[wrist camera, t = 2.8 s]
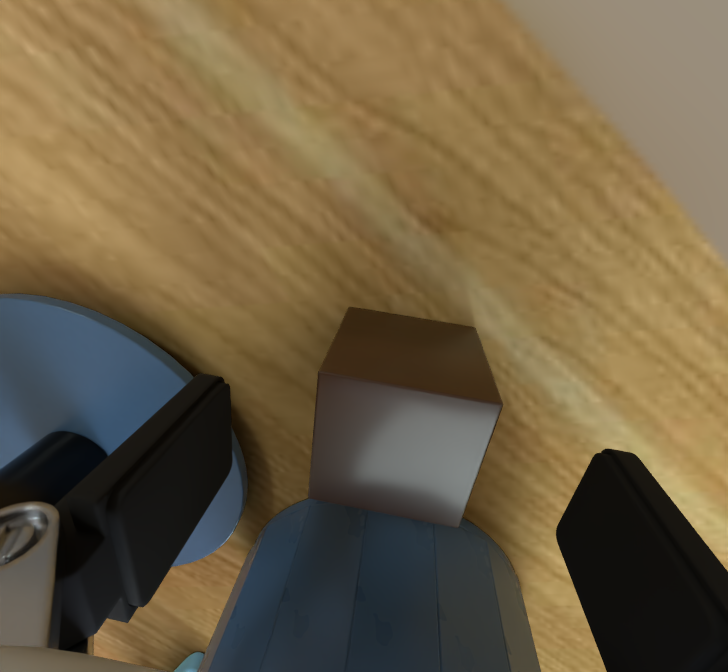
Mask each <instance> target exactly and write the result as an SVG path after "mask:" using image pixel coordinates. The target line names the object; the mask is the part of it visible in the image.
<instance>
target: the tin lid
mask: <svg viewBox="0 0 728 672" xmlns="http://www.w3.org/2000/svg"><path fill="white" fill-rule="evenodd" d="M193 378H194V377H193V376H192V375H191V374H190V372H188V371H187V370H186V369H185V368H184V367H183V366H182V365H180V364H179V363H178V362H177V361H176V360H175V359H174V358H173V357H171V356H170V355H169V354H168V353H166V352H165V351H164V350H162V349H161V348H160V347H158V346H157V345H155V344H154V343H153V342H151V341H150V340H149V339H147V338H146V337H144V336H142V335H141V334H139V333H137V332H136V331H134V330H132V329H131V328H129V327H127V326H125V325H124V324H122V323H120V322H118V321H116V320H114V319H112V318H109V317H107V316H105V315H103V314H101V313H99V312H97V311H94V310H91V309H88V308H85V307H83V306H80V305H77V304H74V303H71V302H67V301H63V300H59V299H55V298H50V297H46V296H38V295H29V294H20V293H18V294H0V509H2V508H5V507H8V506H10V505H14V504H19V503H24V502H44V503H47V504H50V505H53V506H54V505H55V504H57V503H58V502H59V501H60V500H61V499H62V498H63V497H64V496H65V495H66V494H67V493H69V492H70V491H71V490H72V489H73V488H74V487H75V486H76V485H77V484H78V483H80V482H81V481H82V480H83V479H84V478H85V477H86V476H87V475H88V474H89V473H90V472H92V471H93V470H94V469H95V468H96V467H97V466H98V465H99V464H100V463H101V462H102V461H104V460H105V459H106V458H107V457H108V456H109V455H110V454H111V453H112V452H113V451H114V450H116V449H117V448H118V447H119V446H120V445H121V444H122V443H123V442H124V441H125V440H126V439H128V438H129V437H130V436H131V435H132V434H133V433H134V432H135V431H136V430H137V429H138V428H140V427H141V426H142V425H143V424H144V423H145V422H146V421H147V420H148V419H150V418H151V417H152V416H153V415H154V414H155V413H156V412H157V411H158V410H159V409H160V408H162V407H163V406H164V405H165V404H166V403H167V402H168V401H169V400H170V399H171V398H172V397H174V396H175V395H176V394H177V393H178V392H179V391H180V390H181V389H182V388H183V387H184V386H186V385H187V384H188V383H189V382H190V381H191V380H192V379H193ZM231 428H232V427H231ZM232 456H233V462H232V467H231V470H230V473H229V475H228V477H227V478H226V480H225V481H224V483H223V485H222V486H221V488H220V489H219V491H218V493H217V494H216V496H215V497H214V499H213V501H212V502H211V504H210V505H209V507H208V509H207V510H206V512H205V513H204V515H203V517H202V518H201V520H200V521H199V523H198V525H197V526H196V528H195V529H194V531H193V533H192V534H191V536H190V537H189V539H188V541H187V542H186V544H185V545H184V547H183V549H182V550H181V552H180V553H179V555H178V557H177V558H176V560H175V561H174V563H173V565H172V566H178V565H183V564H187V563H191V562H194V561H196V560H199V559H202V558H204V557H206V556H207V555H209V554H211V553H213V552H214V551H216V550H217V549H218V548H219V547H220V546H221V545H223V544H224V543H225V542H226V541H227V540H228V538H229V537H230V536H231V534H232V533H233V532H234V530H235V528H236V526H237V524H238V522H239V520H240V518H241V516H242V514H243V512H244V508H245V504H246V500H247V489H248V479H247V470H246V464H245V461H244V457H243V453H242V450H241V447H240V445H239V442H238V440H237V438H236V436H235V433H234V431H233V429H232ZM172 566H171V567H172Z"/></svg>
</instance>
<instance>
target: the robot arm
mask: <svg viewBox="0 0 728 672" xmlns="http://www.w3.org/2000/svg"><path fill="white" fill-rule="evenodd" d="M232 462H233V456H232V428H231V399H230V386H229V384H226V383H225V382H224V379H223V378H222V377H219V376H214V375H208V374H203V373H200V374H198V375H196V376H195V377H194V378H193V379H192V380H191V381H190V382H189V383H188V384H187V385H186V386H184V387H183V388H182V389H181V390H180V391H179V392H178V393H177V394H176V395H175V396H174V397H172V398H171V399H170V400H169V401H168V402H167V403H166V404H165V405H164V406H163V407H162V408H160V409H159V410H158V411H157V412H156V413H155V414H154V415H153V416H152V417H151V418H150V419H148V420H147V421H146V422H145V423H144V424H143V425H142V426H141V427H140V428H138V429H137V430H136V431H135V432H134V433H133V434H132V435H131V436H130V437H129V438H128V439H126V440H125V441H124V442H123V443H122V444H121V445H120V446H119V447H118V448H117V449H116V450H114V451H113V452H112V453H111V454H110V455H109V456H108V457H107V458H106V459H105V460H104V461H102V462H101V463H100V464H99V465H98V466H97V467H96V468H95V469H94V470H93V471H92V472H90V473H89V474H88V475H87V476H86V477H85V478H84V479H83V480H82V481H81V482H80V483H78V484H77V485H76V486H75V487H74V488H73V489H72V490H71V491H70V492H69V493H67V494H66V495H65V496H64V497H63V498H62V499H61V500H60V501H59V502H58V503H57V504H55V505H54V506H53V505H50V504H47V503H44V502H24V503H19V504H14V505H10V506H8V507H5V508H2V509H0V672H168V671H163V670H158V669H154V668H149V667H144V666H140V665H135V664H130V663H126V662H121V661H116V660H112V659H107V658H102V657H98V656H93V655H94V634H96V633H97V631H98V630H99V629H100V627H101V626H102V624H103V623H104V621H105V620H106V619H107V618H108V619H113V620H117V621H121V622H125V623H128V622H129V620H130V619H131V617H132V616H133V614H134V613H135V611H136V609H137V608H138V606H139V607H144V606H145V605H146V604H147V603H148V602H149V601H150V600H151V598H152V597H153V595H154V593H155V592H156V590H157V589H158V587H159V585H160V584H161V582H162V581H163V579H164V577H165V576H166V574H167V573H168V571H169V569H170V568H171V566H172V565H173V563H174V561H175V560H176V558H177V557H178V555H179V553H180V552H181V550H182V549H183V547H184V545H185V544H186V542H187V541H188V539H189V537H190V536H191V534H192V533H193V531H194V529H195V528H196V526H197V525H198V523H199V521H200V520H201V518H202V517H203V515H204V513H205V512H206V510H207V509H208V507H209V505H210V504H211V502H212V501H213V499H214V497H215V496H216V494H217V493H218V491H219V489H220V488H221V486H222V485H223V483H224V481H225V480H226V478H227V477H228V475H229V473H230V470H231V467H232ZM556 538H557V542H558V545H559V548H560V550H561V553H562V555H563V558H564V561H565V563H566V566H567V568H568V571H569V574H570V576H571V579H572V582H573V584H574V587H575V589H576V592H577V595H578V597H579V600H580V602H581V605H582V608H583V610H584V613H585V616H586V618H587V621H588V623H589V626H590V629H591V631H592V634H593V636H594V639H595V642H596V644H597V647H598V649H599V652H600V655H601V657H602V660H603V663H604V665H605V668H606V670H607V672H728V572H727V570H726V569H725V568H724V566H723V565H722V564H721V563H720V561H719V560H718V559H717V557H716V556H715V555H714V554H713V552H712V551H711V550H710V549H709V547H708V546H707V545H706V543H705V542H704V541H703V540H702V538H701V537H700V536H699V534H698V533H697V532H696V531H695V529H694V528H693V527H692V526H691V524H690V523H689V522H688V520H687V519H686V518H685V517H684V515H683V514H682V513H681V511H680V510H679V509H678V508H677V506H676V505H675V504H674V503H673V501H672V500H671V499H670V497H669V496H668V495H667V494H666V492H665V491H664V490H663V488H662V487H661V486H660V485H659V483H658V482H657V481H656V479H655V478H654V477H653V476H652V474H651V473H650V472H649V471H648V469H647V468H646V467H645V465H644V464H643V463H642V462H641V460H640V459H639V458H638V457H637V456H636V455H635V454H633V453H630V452H624V451H619V450H613V449H604V450H603V451H602V452H601V453H597V454H595V455H594V457H593V458H592V460H591V462H590V464H589V466H588V468H587V470H586V472H585V474H584V476H583V477H582V479H581V481H580V483H579V485H578V487H577V489H576V491H575V493H574V495H573V497H572V499H571V501H570V503H569V504H568V506H567V508H566V510H565V512H564V514H563V516H562V518H561V520H560V522H559V524H558V526H557V530H556Z"/></svg>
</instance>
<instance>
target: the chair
mask: <svg viewBox="0 0 728 672" xmlns="http://www.w3.org/2000/svg"><path fill="white" fill-rule="evenodd" d="M203 657H204V654H203V653H201V652H195V653H193V654H191V655H190V656H189V657H187V658H186V659H185V660H184V661H183V662H182V663H181V664H180V665H179V666H178V667H177V668H176V670H175V671H174V672H197V671H198V668H199V666H200V664H201V661H202V659H203Z"/></svg>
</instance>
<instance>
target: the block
mask: <svg viewBox="0 0 728 672" xmlns="http://www.w3.org/2000/svg"><path fill="white" fill-rule="evenodd" d="M502 407H503V402H502V399H501V397H500V394H499V391H498V388H497V386H496V383H495V380H494V377H493V375H492V372H491V369H490V366H489V364H488V361H487V358H486V355H485V353H484V350H483V347H482V344H481V342H480V339H479V336H478V333H477V331H476V328H474V327H468V326H462V325H456V324H450V323H444V322H438V321H432V320H426V319H420V318H414V317H408V316H402V315H396V314H390V313H384V312H378V311H372V310H366V309H360V308H354V307H349V308H348V310H347V312H346V314H345V316H344V318H343V320H342V322H341V324H340V327H339V329H338V331H337V333H336V335H335V337H334V339H333V341H332V344H331V346H330V348H329V350H328V352H327V354H326V356H325V359H324V361H323V363H322V365H321V367H320V369H319V371H318V379H317V392H316V405H315V417H314V430H313V442H312V455H311V467H310V480H309V492H308V497H309V498H310V499H314V500H319V501H324V502H329V503H334V504H339V505H344V506H349V507H354V508H359V509H364V510H369V511H374V512H379V513H384V514H389V515H394V516H399V517H404V518H409V519H414V520H419V521H424V522H429V523H434V524H439V525H444V526H449V527H454V528H458V527H459V525H460V522H461V519H462V517H463V514H464V511H465V508H466V506H467V503H468V500H469V497H470V495H471V492H472V489H473V486H474V484H475V481H476V478H477V475H478V473H479V470H480V467H481V465H482V462H483V459H484V456H485V454H486V451H487V448H488V445H489V443H490V440H491V437H492V434H493V432H494V429H495V426H496V423H497V421H498V418H499V415H500V412H501V410H502Z"/></svg>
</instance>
